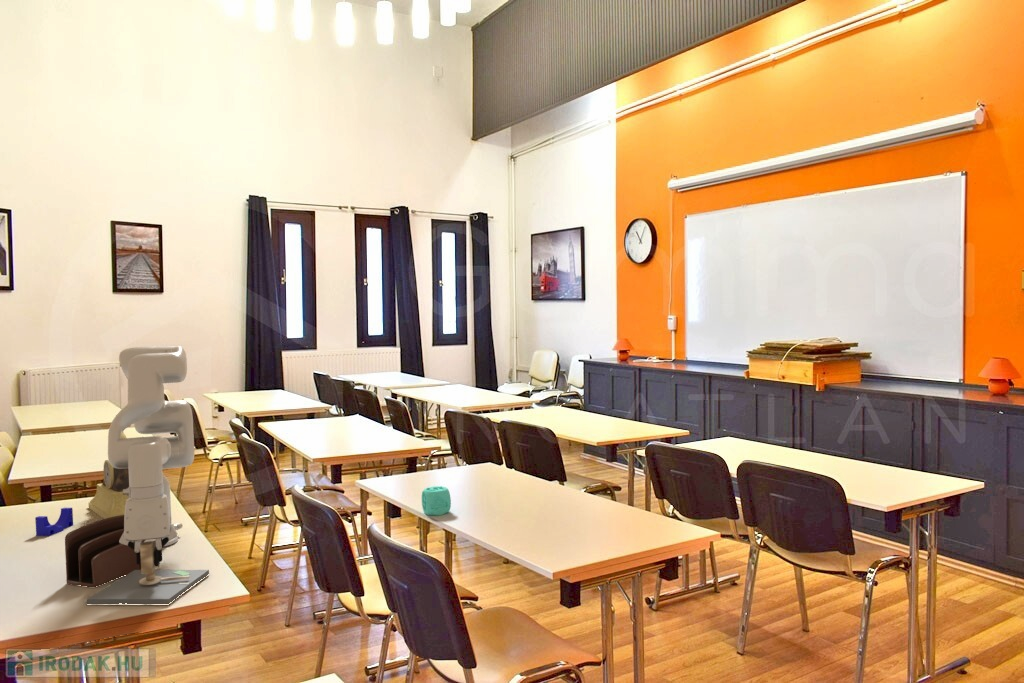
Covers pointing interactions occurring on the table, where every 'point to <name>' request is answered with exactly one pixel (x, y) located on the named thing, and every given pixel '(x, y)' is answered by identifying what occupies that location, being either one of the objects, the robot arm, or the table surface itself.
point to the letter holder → (98, 553)
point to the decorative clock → (111, 491)
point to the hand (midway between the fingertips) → (149, 565)
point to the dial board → (147, 588)
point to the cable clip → (47, 529)
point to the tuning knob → (152, 564)
